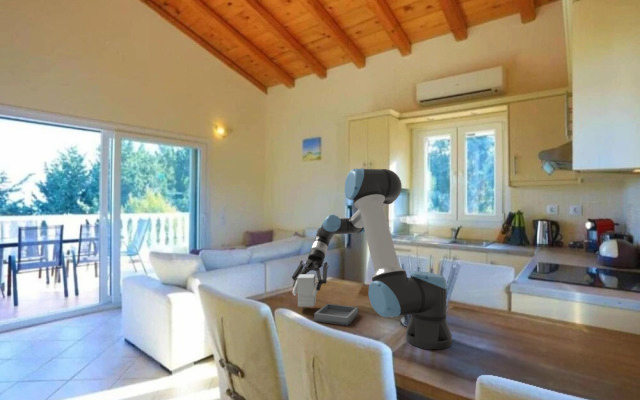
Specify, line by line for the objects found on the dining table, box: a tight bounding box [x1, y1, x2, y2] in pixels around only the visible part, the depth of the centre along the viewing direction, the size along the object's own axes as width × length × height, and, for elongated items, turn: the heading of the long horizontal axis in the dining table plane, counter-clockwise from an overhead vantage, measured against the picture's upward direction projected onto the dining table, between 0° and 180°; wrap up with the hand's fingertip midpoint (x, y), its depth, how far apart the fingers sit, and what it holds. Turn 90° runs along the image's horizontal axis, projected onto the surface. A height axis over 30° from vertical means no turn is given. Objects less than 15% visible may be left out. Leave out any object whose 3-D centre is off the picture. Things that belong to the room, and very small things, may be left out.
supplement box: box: [297, 273, 317, 308], centre depth 152 cm, size 7×7×13 cm
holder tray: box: [313, 303, 359, 327], centre depth 141 cm, size 14×14×3 cm
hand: (303, 295), depth 149 cm, fingers closed on supplement box, 9 cm apart
